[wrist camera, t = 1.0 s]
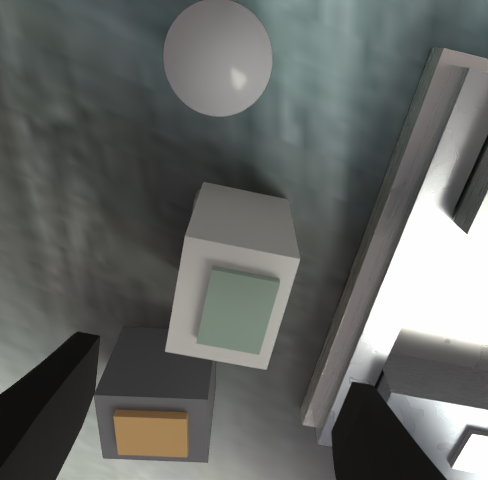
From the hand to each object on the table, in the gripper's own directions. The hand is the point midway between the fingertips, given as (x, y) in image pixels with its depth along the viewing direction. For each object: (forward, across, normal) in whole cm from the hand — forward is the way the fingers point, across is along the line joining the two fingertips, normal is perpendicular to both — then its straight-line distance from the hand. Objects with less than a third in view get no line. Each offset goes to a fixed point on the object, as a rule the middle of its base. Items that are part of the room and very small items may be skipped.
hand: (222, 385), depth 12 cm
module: (+10, 0, 0) cm, 10 cm away
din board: (+10, -13, 0) cm, 16 cm away
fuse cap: (+10, +2, -8) cm, 13 cm away
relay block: (+10, +2, +8) cm, 13 cm away
